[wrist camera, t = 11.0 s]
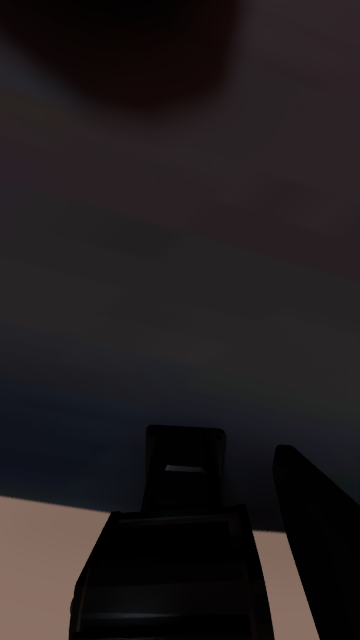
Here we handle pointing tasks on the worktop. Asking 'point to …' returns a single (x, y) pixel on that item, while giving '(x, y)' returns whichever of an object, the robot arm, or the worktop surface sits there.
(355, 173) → the worktop surface
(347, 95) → the worktop surface
